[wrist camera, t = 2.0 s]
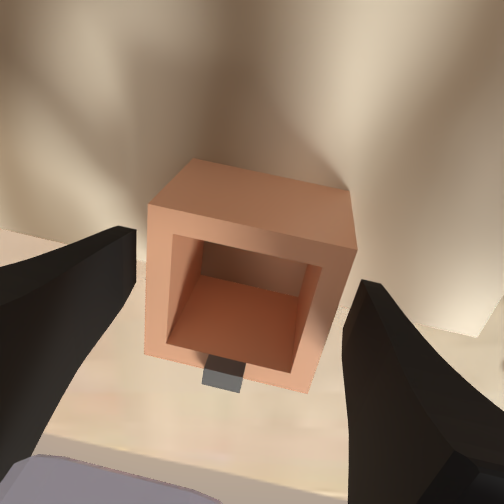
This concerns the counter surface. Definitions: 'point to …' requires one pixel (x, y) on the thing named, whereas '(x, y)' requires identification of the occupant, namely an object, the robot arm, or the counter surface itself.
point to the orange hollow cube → (238, 295)
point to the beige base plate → (270, 129)
